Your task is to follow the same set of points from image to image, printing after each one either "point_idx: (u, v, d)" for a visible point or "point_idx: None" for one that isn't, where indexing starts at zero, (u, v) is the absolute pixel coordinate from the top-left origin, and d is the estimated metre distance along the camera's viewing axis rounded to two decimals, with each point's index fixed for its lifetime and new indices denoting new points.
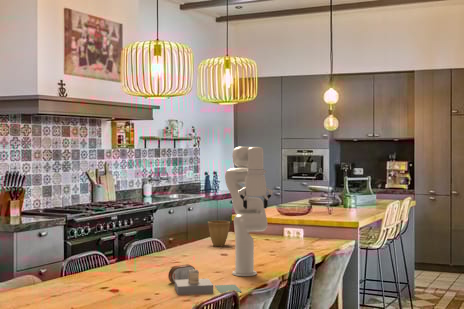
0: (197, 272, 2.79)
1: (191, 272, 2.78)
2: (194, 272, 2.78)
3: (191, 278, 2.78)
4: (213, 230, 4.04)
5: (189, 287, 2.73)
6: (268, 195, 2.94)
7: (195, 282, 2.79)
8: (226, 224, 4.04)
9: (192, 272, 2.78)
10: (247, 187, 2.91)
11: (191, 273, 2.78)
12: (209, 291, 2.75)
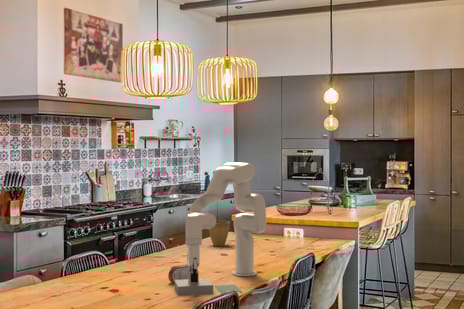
0: None
1: None
2: None
3: None
4: (213, 230, 4.04)
5: (189, 287, 2.73)
6: (194, 266, 2.84)
7: (195, 282, 2.79)
8: (226, 224, 4.04)
9: None
10: (199, 257, 2.76)
11: None
12: (209, 291, 2.75)
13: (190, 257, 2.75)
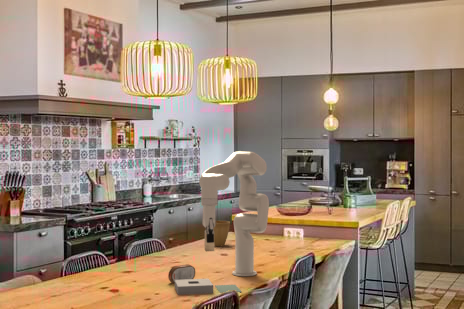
0: None
1: None
2: None
3: None
4: None
5: (189, 287, 2.73)
6: (210, 227, 2.86)
7: None
8: (226, 224, 4.04)
9: None
10: None
11: None
12: (209, 291, 2.75)
13: (206, 217, 2.76)
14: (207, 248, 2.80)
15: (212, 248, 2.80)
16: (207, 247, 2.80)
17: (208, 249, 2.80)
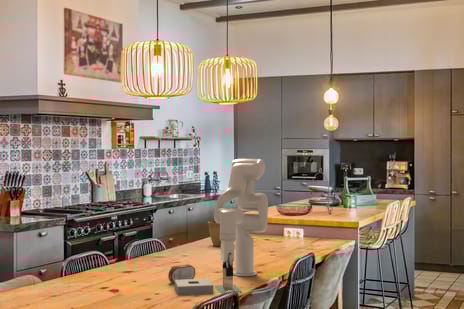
0: None
1: (225, 270, 2.81)
2: None
3: (225, 276, 2.81)
4: (213, 230, 4.04)
5: (189, 287, 2.73)
6: None
7: (229, 280, 2.82)
8: None
9: None
10: (233, 253, 2.79)
11: None
12: (209, 291, 2.75)
13: (225, 252, 2.78)
14: (225, 286, 2.82)
15: (230, 286, 2.82)
16: (226, 285, 2.82)
17: (226, 287, 2.82)
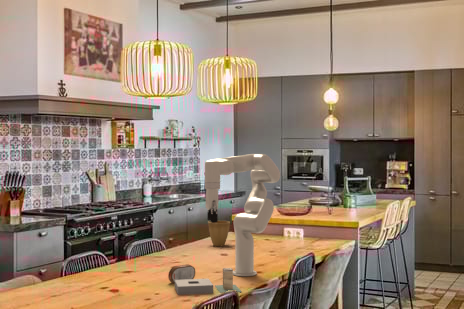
0: (231, 270, 2.82)
1: (225, 270, 2.81)
2: (228, 270, 2.82)
3: (225, 276, 2.81)
4: (213, 230, 4.04)
5: (189, 287, 2.73)
6: None
7: (229, 280, 2.82)
8: (226, 224, 4.04)
9: (226, 270, 2.81)
10: None
11: (226, 271, 2.81)
12: (209, 291, 2.75)
13: (209, 200, 2.91)
14: (225, 286, 2.82)
15: (230, 286, 2.82)
16: (226, 285, 2.82)
17: (226, 287, 2.82)
